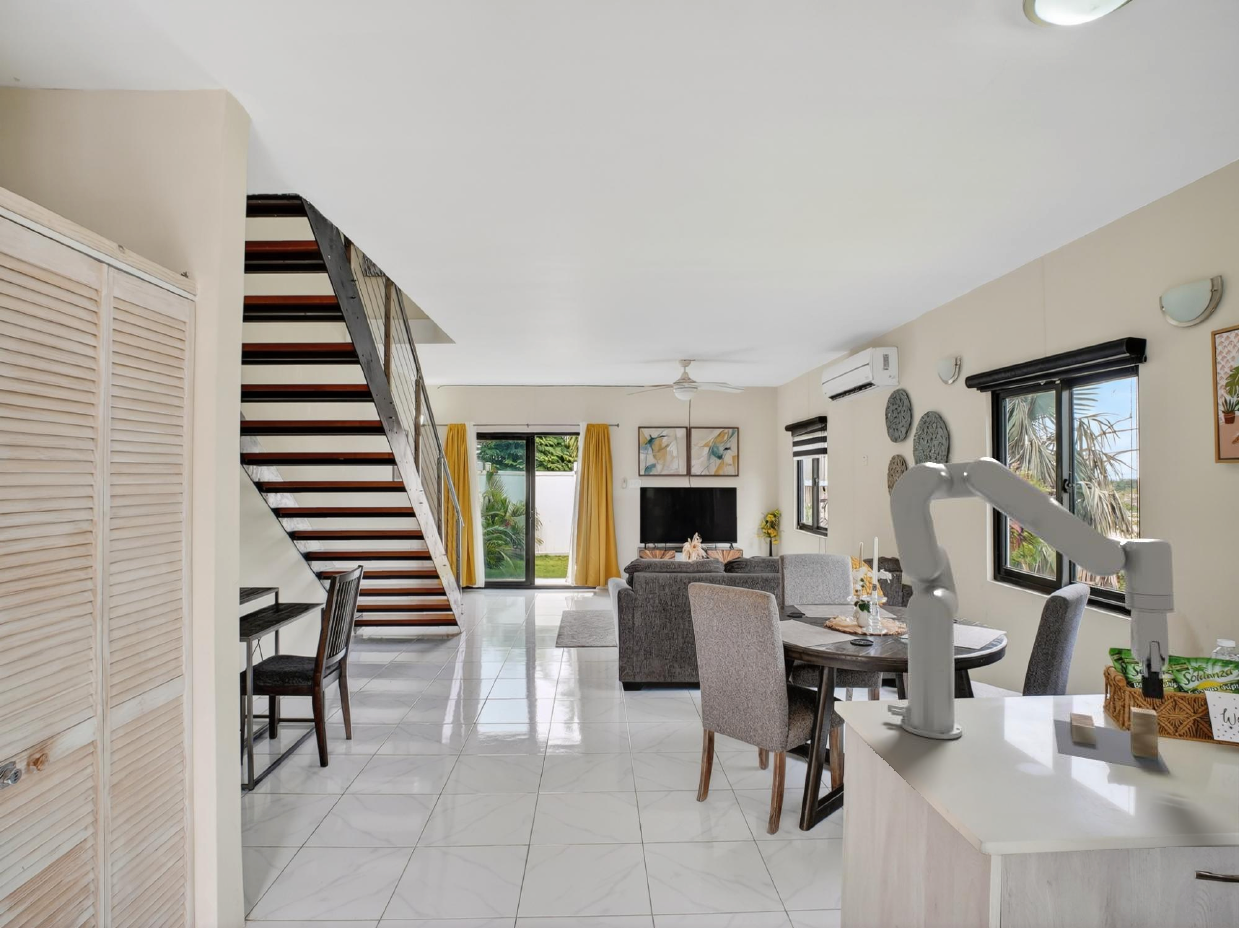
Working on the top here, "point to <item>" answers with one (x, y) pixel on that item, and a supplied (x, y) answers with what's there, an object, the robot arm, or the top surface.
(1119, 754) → the rubber mat
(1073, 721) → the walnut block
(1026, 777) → the top surface
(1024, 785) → the top surface
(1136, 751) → the oak block
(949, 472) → the robot arm
